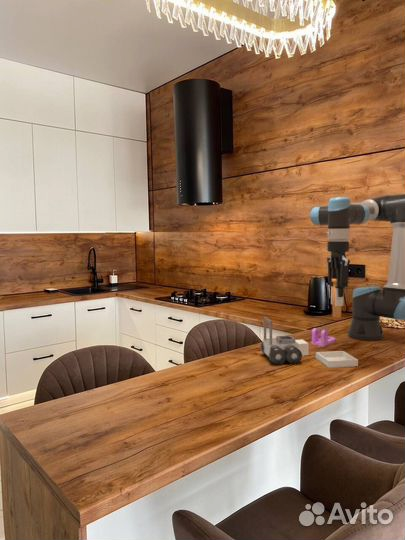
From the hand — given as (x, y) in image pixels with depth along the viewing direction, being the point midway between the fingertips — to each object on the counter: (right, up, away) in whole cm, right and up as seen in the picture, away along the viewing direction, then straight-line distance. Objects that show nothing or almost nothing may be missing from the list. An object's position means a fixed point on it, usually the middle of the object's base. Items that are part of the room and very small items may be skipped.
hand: (337, 304), depth 152 cm
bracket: (+4, -19, +30) cm, 36 cm away
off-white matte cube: (-11, -21, +14) cm, 27 cm away
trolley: (-20, -21, +7) cm, 30 cm away
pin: (0, -4, 0) cm, 5 cm away
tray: (0, -22, +2) cm, 22 cm away
